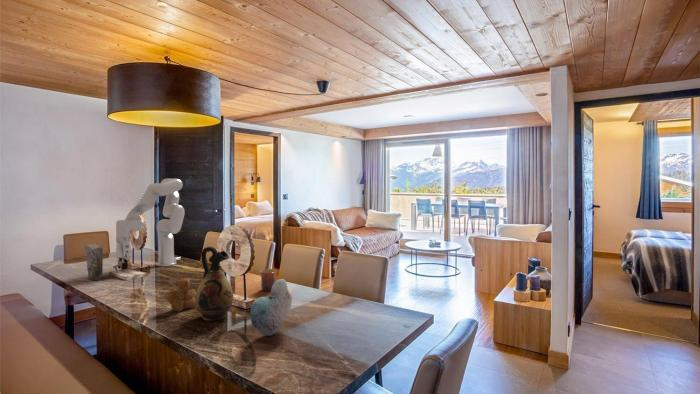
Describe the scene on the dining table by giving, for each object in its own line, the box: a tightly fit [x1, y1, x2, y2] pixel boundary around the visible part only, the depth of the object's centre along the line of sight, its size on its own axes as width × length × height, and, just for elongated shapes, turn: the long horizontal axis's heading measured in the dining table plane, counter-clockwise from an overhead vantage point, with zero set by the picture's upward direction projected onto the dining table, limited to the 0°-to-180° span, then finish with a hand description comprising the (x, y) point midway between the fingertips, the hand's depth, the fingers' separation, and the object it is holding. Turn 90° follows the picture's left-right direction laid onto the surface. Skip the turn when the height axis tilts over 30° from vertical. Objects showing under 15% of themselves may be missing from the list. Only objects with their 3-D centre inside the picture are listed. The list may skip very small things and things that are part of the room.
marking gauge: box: [112, 259, 133, 271], centre depth 225 cm, size 9×4×6 cm, turn 146°
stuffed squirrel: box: [164, 277, 196, 312], centre depth 164 cm, size 10×14×13 cm
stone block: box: [85, 243, 104, 282], centre depth 214 cm, size 13×7×20 cm, turn 54°
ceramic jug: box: [194, 245, 234, 322], centre depth 154 cm, size 17×15×30 cm
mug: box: [259, 268, 277, 292], centre depth 194 cm, size 12×9×10 cm
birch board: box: [108, 268, 147, 281], centre depth 221 cm, size 11×22×2 cm, turn 57°
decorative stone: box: [250, 278, 293, 337], centre depth 136 cm, size 21×9×20 cm, turn 151°
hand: (122, 268), depth 225 cm, fingers closed on marking gauge, 4 cm apart
